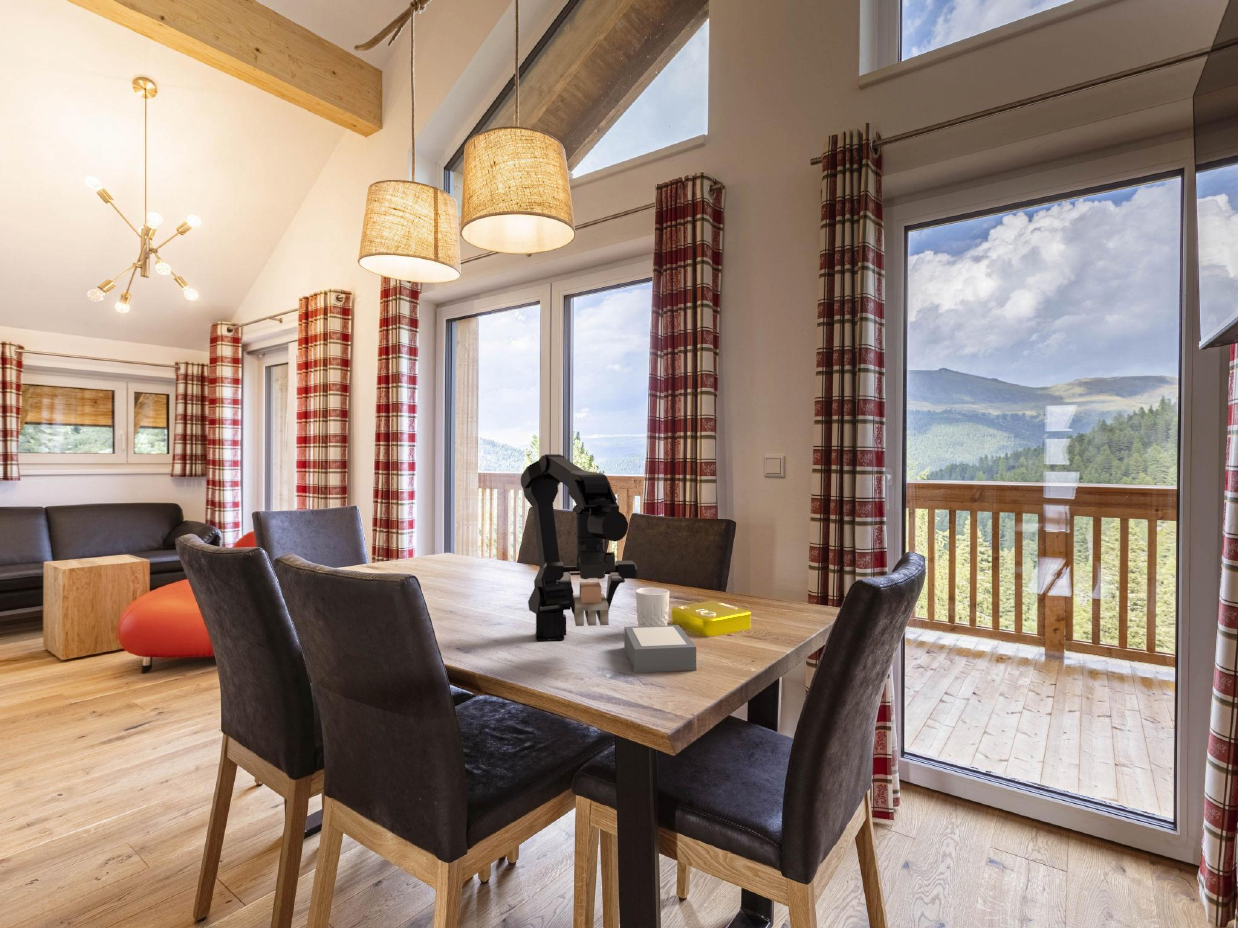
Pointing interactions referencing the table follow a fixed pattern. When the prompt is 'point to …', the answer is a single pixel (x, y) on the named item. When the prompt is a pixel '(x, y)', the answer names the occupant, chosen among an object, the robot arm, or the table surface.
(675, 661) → the dock
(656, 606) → the white cup
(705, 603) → the element tile
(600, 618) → the grey slotted block
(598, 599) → the orange block
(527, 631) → the table surface
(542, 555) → the robot arm
